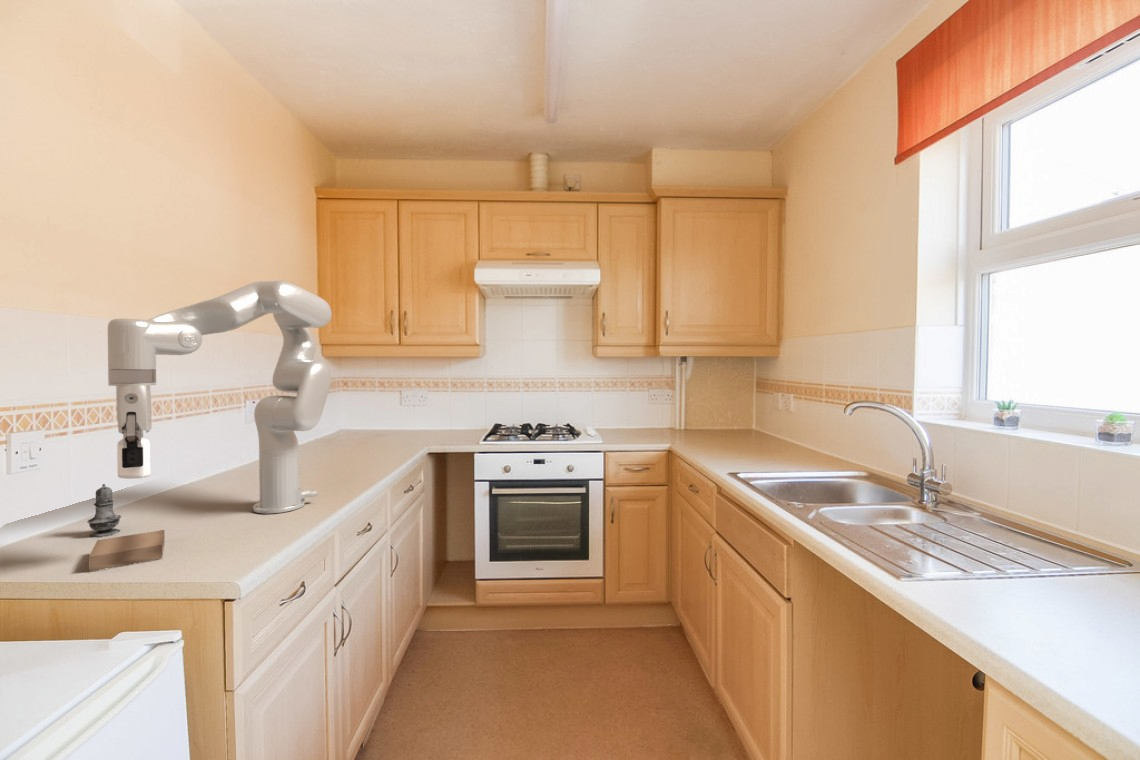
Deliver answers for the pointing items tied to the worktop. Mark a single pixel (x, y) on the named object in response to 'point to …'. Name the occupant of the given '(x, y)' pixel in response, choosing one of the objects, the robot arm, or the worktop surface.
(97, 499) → the salt shaker
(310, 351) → the robot arm
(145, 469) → the eye dropper bottle
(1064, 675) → the worktop surface
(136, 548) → the walnut stand
